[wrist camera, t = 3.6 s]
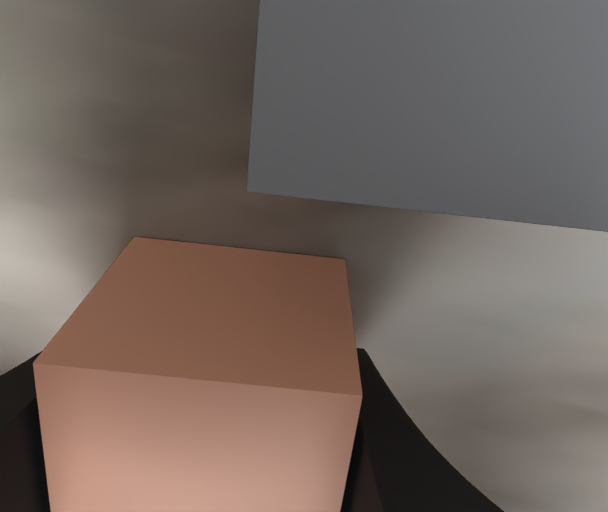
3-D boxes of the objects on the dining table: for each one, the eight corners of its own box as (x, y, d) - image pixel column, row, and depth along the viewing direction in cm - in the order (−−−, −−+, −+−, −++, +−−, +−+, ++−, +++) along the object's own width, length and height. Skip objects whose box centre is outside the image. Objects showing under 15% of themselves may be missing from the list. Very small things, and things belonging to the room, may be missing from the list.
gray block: (499, 147, 12) (618, 232, 7) (272, 121, 12) (245, 191, 7) (572, -127, 10) (803, -251, 5) (296, -163, 9) (282, -325, 5)
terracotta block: (319, 422, 15) (322, 604, 10) (138, 404, 15) (58, 581, 10) (344, 259, 13) (362, 395, 8) (134, 236, 13) (33, 363, 8)
